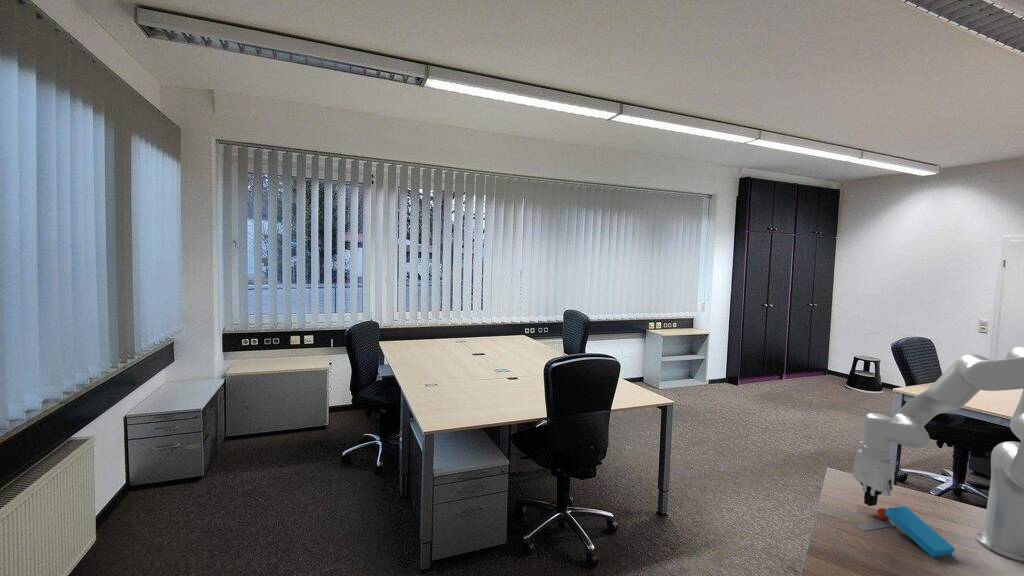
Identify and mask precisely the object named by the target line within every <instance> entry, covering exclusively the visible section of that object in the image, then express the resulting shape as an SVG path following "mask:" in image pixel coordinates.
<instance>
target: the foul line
mask: <svg viewBox="0 0 1024 576" xmlns="http://www.w3.org/2000/svg"><path fill="white" fill-rule="evenodd" d="M896 526H897V525H896V524H895V523H894V522H893V521H892V520H891V519H888V520H883V521H876V522H869V523H863V524H857V525H855V527H856V528H858V529H859V530H861V531H863V532H866V531H872V530H877V529H885V528H892V527H896ZM897 527H898V526H897Z"/></svg>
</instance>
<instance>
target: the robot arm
mask: <svg viewBox="0 0 1024 576" xmlns="http://www.w3.org/2000/svg"><path fill="white" fill-rule="evenodd" d="M1011 390H1013V391H1014V390H1022V393H1021V395H1020V399H1019V401H1018V404H1017V406H1016V408H1015V410H1014V412H1013V415H1012V416H1011V419H1010V422H1009V427H1010V430H1011V432H1012V433H1013V434H1014V435H1015V436H1016V438H1018V439H1019V440H1020V442H1019V441H1013V440H1012V441H1009V440H1008V441H1004V442H1003V441H1002V442H1001V443H998V444H996V446H994V447H993V449H992V451H991V455H990V471H991V473H990V484H989V485H990V486H989V490H988V497H987V504H986V511H985V518H984V519H985V520H984V526H983V529H978V530H976V531H975V540H977V541H978V542H979V543H980V544H981V545H982V546H984V547H985V548H987V549H988V550H991V551H992V552H994V553H996V554H998V555H1001V556H1003V557H1006V558H1009V559H1012V560H1015V561H1020V562H1023V563H1024V345H1018V346H1014V347H1013V348H1011V349H1010V350H1009V351H1008V352H1007V354H1006V358H1003V359H989V358H987V357H985V356H983V355H980V354H974V353H973V354H971V353H969V354H965V355H962V356H960V357H958V358H957V359H955V361H954V362H953V363H952V364H951V365H950V366H949V367H948V368H947V369H946V370H945V371H944V372H943V374H941V375H940V376H939V378H937V379H936V381H934V382H933V383H932V385H930V387H928V388H927V389H926V390H924V391H922V392H921V393H919V394H917V395H916V396H914V397H913V398H911V399H910V400H908V401H907V402H906V403H905V404H904V405H903V406H902V407H901V408H900V409H898V411H897V412H896V414H894V415H893V417H891V416H888V415H886V414H882V413H876V412H870V413H867V414H866V415H865V416H864V423H863V429H862V430H863V431H862V432H863V433H862V441H859V443H858V445H859V446H860V447H861V448H860V449H858V451H857V453H856V455H855V458H854V463H853V466H852V467H853V468H852V477H853V478H854V479H855V481H857V482H859V484H860V485H861V487H862V491H863V492H864V496H863V504H865V505H867V506H868V507H873V506H874V507H875V506H877V504H878V498H879V496H881V495H882V496H885V497H890V496H892V492H891V491H893V488H894V480H895V470H894V462H893V460H892V453H893V445H894V443H895V444H899V445H900V446H901V445H902V446H904V447H907V448H911V449H922V448H926V447H927V446H928V445H929V443H930V440H931V439H930V435H929V433H928V432H927V430H926V429H925V426H926V425H927V424H928V423H929V422H930V421H931V420H932V419H933V418H934V417H936V416H937V415H940V414H942V413H944V412H949V411H958V410H961V409H962V408H963V407H965V405H967V403H969V401H971V400H972V399H973V398H974V397H975V396H976V394H978V393H979V392H980V391H988V392H999V391H1001V392H1002V391H1011Z"/></svg>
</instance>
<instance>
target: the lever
mask: <svg viewBox="0 0 1024 576" xmlns="http://www.w3.org/2000/svg"><path fill="white" fill-rule="evenodd" d="M876 513H877V515H878V517H879V518H880V519H881V520H883V521H887V520H892V521H893V522H894V523H895V524H896V525H897V527H898V528H899V529H900V530H901V531H902V532H904V533H905V534H906V535H907V536H908V537H909V538H910V539H911V540H912V541H914V543H916V544H917V545H918V546H919V547H920V548H921V549H922V550H923V551H925V552H926V554H928V555H929V557H931V558H936V557H937V558H938V557H944V556H952V555H953V553H954V551H955V549H956V548H955V547H953V545H952V544H950V542H948V541H947V540H946V539H944V537H942V536H941V535H940V534H939V533H938V532H936V531H935V530H934V529H933V528H932V527H930V525H928V524H927V523H926V522H925V521H924V520H922V519H921V518H920V517H919V516H918V515H916V514H915V513H914V512H913V511H912V510H911V509H910V508H908V507H907V506H895V507H887V508H884V507H880V508H878V509H877V511H876Z"/></svg>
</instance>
